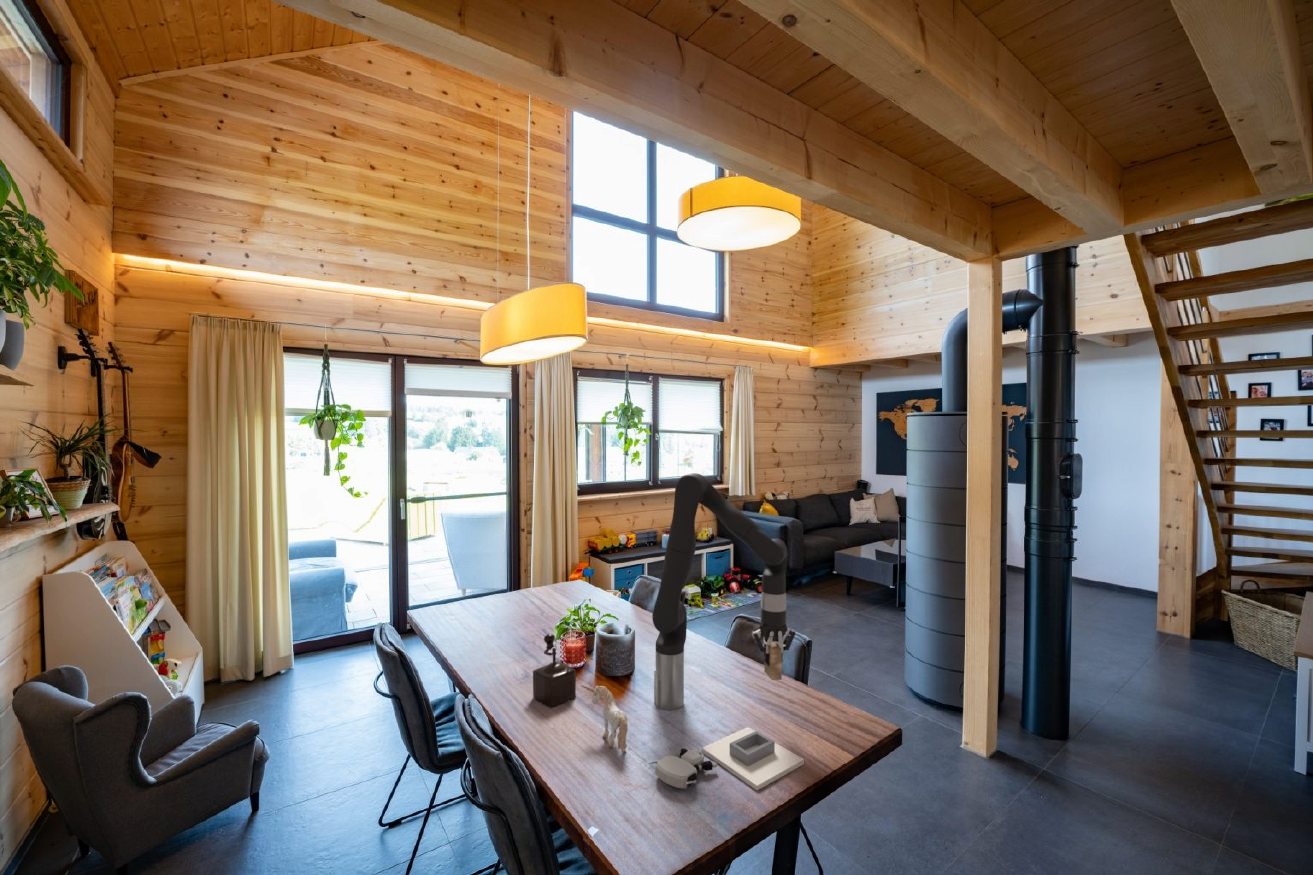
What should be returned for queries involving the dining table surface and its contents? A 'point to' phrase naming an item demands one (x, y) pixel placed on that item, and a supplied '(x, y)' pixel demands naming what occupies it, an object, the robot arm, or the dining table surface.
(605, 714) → the unicorn figurine
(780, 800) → the dining table surface
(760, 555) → the robot arm
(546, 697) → the dark block with post
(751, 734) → the socket base
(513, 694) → the dining table surface
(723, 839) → the dining table surface
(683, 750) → the robot toy
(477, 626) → the dining table surface
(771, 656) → the tall wooden peg block
